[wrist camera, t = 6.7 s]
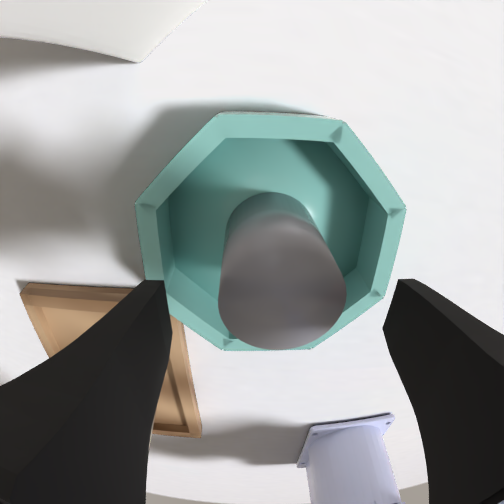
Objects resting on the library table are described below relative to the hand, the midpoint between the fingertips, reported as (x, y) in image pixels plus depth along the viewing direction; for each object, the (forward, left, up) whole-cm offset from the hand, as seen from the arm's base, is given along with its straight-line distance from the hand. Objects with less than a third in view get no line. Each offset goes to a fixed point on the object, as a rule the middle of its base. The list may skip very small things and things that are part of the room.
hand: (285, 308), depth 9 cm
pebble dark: (0, 0, -5) cm, 5 cm away
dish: (0, 0, -6) cm, 6 cm away
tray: (-10, +10, -6) cm, 15 cm away
